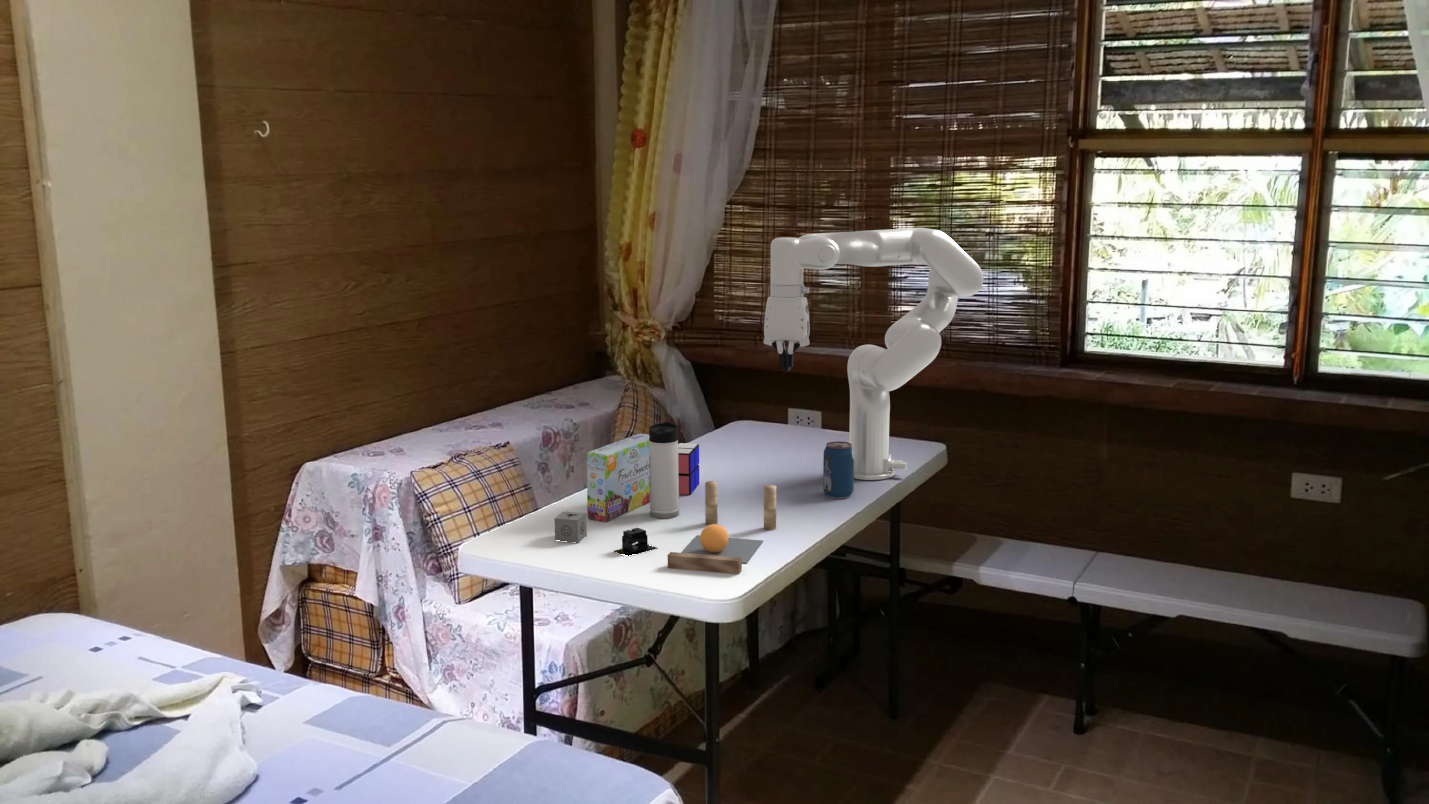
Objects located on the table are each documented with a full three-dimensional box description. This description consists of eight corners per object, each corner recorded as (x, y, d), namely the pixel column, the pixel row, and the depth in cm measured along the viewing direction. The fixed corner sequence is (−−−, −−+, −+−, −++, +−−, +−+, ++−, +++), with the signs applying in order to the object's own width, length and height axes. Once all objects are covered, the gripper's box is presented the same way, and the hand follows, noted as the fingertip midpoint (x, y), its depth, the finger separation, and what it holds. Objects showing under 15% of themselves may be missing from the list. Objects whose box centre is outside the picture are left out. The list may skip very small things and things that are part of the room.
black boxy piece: (648, 542, 253) (647, 520, 252) (671, 550, 248) (670, 528, 247) (599, 555, 245) (598, 533, 244) (621, 564, 240) (621, 541, 239)
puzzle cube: (690, 496, 284) (690, 453, 282) (648, 494, 286) (647, 452, 284) (699, 484, 294) (699, 443, 292) (658, 482, 296) (658, 441, 294)
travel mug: (683, 511, 272) (682, 422, 268) (672, 519, 266) (671, 429, 262) (657, 508, 274) (655, 420, 270) (645, 517, 268) (644, 427, 264)
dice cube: (586, 536, 255) (586, 513, 254) (578, 543, 251) (577, 520, 250) (564, 534, 257) (563, 511, 256) (555, 542, 252) (554, 518, 251)
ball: (731, 549, 247) (731, 522, 246) (724, 557, 241) (724, 529, 240) (704, 547, 248) (704, 520, 247) (696, 554, 243) (696, 526, 242)
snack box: (608, 523, 264) (606, 454, 261) (586, 519, 267) (584, 451, 264) (660, 498, 282) (659, 434, 279) (639, 495, 285) (638, 431, 282)
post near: (777, 526, 261) (777, 485, 259) (774, 530, 258) (774, 488, 256) (765, 525, 261) (765, 484, 259) (762, 529, 259) (762, 487, 257)
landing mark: (763, 541, 251) (763, 540, 251) (746, 563, 238) (746, 562, 238) (696, 536, 255) (696, 535, 255) (676, 557, 242) (676, 556, 241)
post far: (719, 522, 264) (718, 481, 262) (715, 525, 262) (715, 484, 260) (707, 521, 265) (707, 480, 263) (704, 524, 262) (703, 483, 260)
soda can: (857, 493, 285) (858, 442, 283) (847, 500, 279) (848, 449, 277) (829, 489, 288) (829, 439, 286) (818, 497, 282) (819, 446, 280)
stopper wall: (741, 570, 234) (741, 557, 234) (739, 573, 232) (739, 561, 232) (670, 564, 238) (670, 551, 237) (667, 567, 236) (667, 555, 235)
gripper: (821, 290, 287) (820, 368, 291) (758, 289, 291) (758, 366, 295) (815, 294, 280) (814, 374, 284) (751, 292, 284) (751, 371, 288)
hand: (786, 369), depth 289 cm, fingers closed
